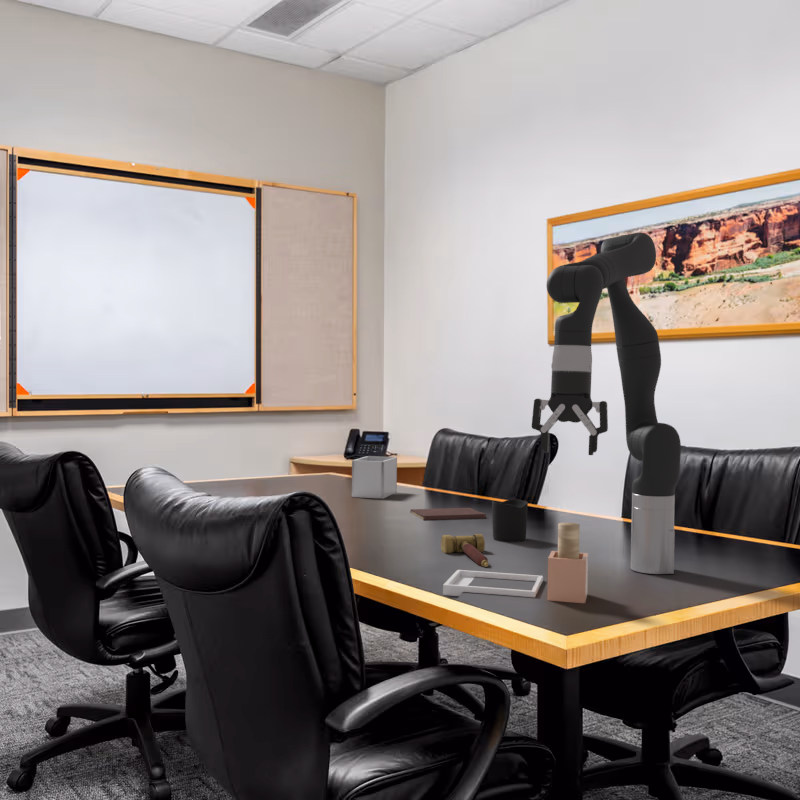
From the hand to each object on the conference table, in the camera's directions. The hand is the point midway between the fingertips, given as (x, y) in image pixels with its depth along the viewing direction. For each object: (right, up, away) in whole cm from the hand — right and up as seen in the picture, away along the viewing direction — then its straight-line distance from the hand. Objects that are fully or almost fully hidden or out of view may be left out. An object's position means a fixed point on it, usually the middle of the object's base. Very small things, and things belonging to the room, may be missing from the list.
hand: (568, 453), depth 167 cm
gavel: (-15, -28, +38) cm, 50 cm away
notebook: (-18, -26, +101) cm, 106 cm away
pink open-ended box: (0, -28, -1) cm, 28 cm away
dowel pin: (0, -27, -1) cm, 27 cm away
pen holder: (-3, -27, +63) cm, 69 cm away
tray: (-14, -28, +8) cm, 32 cm away
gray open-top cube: (-42, -24, +146) cm, 154 cm away
